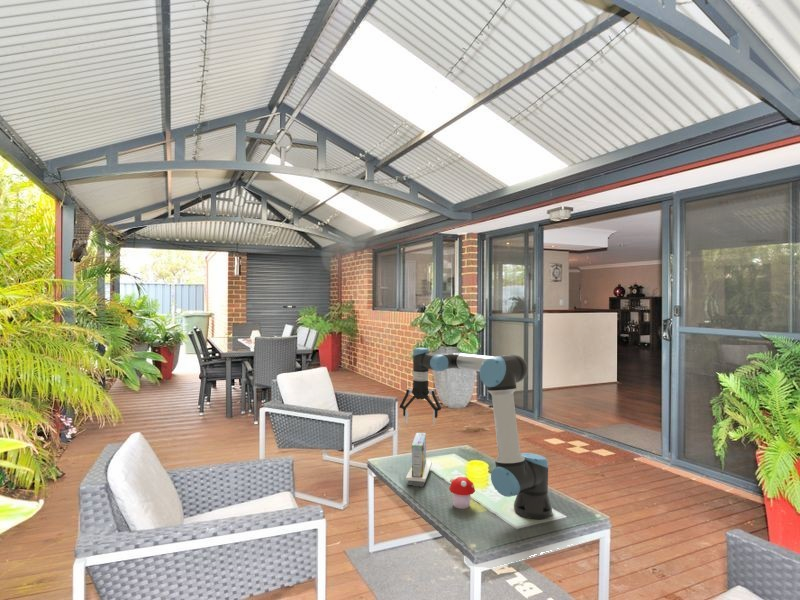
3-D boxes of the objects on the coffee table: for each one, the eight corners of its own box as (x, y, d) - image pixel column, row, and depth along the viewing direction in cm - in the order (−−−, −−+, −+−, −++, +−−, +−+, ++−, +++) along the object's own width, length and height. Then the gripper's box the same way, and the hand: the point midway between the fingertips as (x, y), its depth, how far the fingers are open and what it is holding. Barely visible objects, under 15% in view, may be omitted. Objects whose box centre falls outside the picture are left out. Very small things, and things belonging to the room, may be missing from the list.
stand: (424, 487, 223) (425, 479, 223) (405, 486, 224) (405, 477, 224) (431, 469, 246) (431, 461, 246) (414, 468, 248) (414, 460, 248)
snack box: (415, 461, 246) (415, 432, 246) (426, 462, 245) (426, 432, 245) (410, 477, 225) (411, 444, 225) (422, 477, 224) (423, 445, 224)
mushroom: (450, 499, 211) (450, 471, 211) (475, 501, 209) (475, 473, 208) (447, 509, 200) (448, 480, 200) (474, 512, 198) (475, 482, 198)
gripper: (394, 379, 234) (393, 423, 234) (445, 382, 229) (445, 427, 229) (397, 377, 241) (396, 420, 241) (447, 379, 236) (446, 423, 236)
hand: (420, 423), depth 235 cm, fingers open, 13 cm apart
